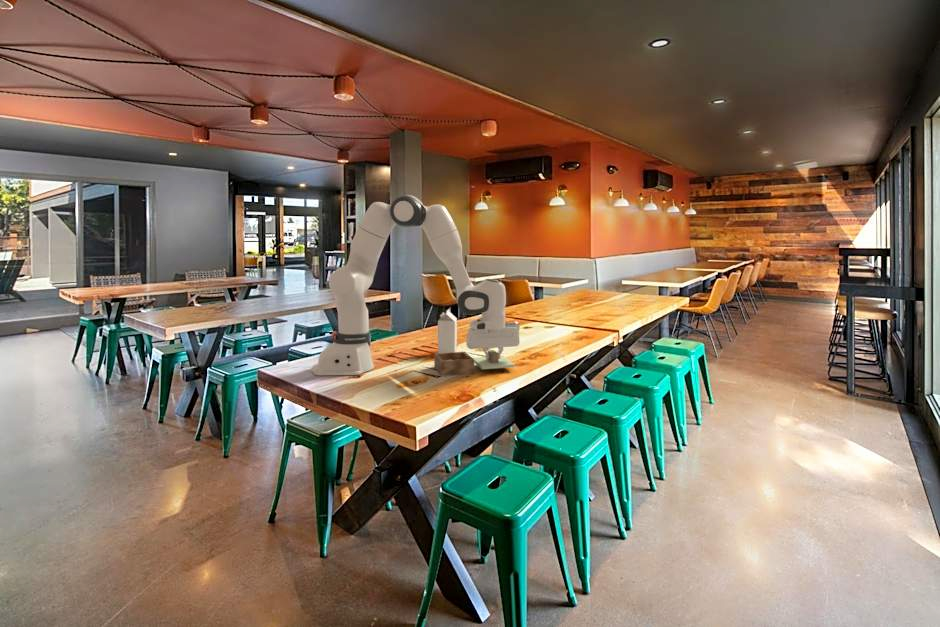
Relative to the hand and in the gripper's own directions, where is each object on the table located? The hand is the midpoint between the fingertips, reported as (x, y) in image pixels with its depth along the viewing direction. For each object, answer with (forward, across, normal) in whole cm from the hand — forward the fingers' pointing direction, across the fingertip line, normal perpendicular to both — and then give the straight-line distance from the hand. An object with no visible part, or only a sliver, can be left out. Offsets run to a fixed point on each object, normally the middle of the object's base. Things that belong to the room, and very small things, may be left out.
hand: (492, 358), depth 185 cm
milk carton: (+5, +11, -27) cm, 30 cm away
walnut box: (+4, +15, -1) cm, 16 cm away
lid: (+2, 0, 0) cm, 2 cm away
